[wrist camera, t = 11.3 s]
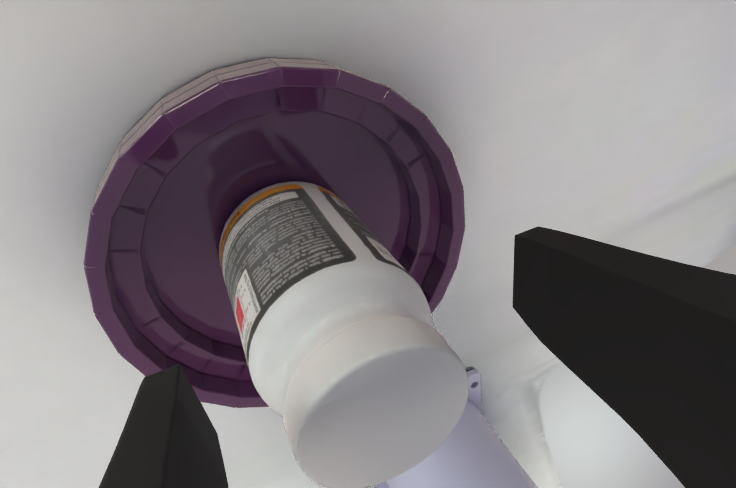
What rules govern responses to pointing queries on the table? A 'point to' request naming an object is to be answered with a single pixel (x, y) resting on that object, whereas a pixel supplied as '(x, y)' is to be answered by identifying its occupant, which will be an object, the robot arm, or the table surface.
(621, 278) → the robot arm
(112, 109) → the table surface
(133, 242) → the dish
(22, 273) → the table surface
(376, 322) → the pill bottle
